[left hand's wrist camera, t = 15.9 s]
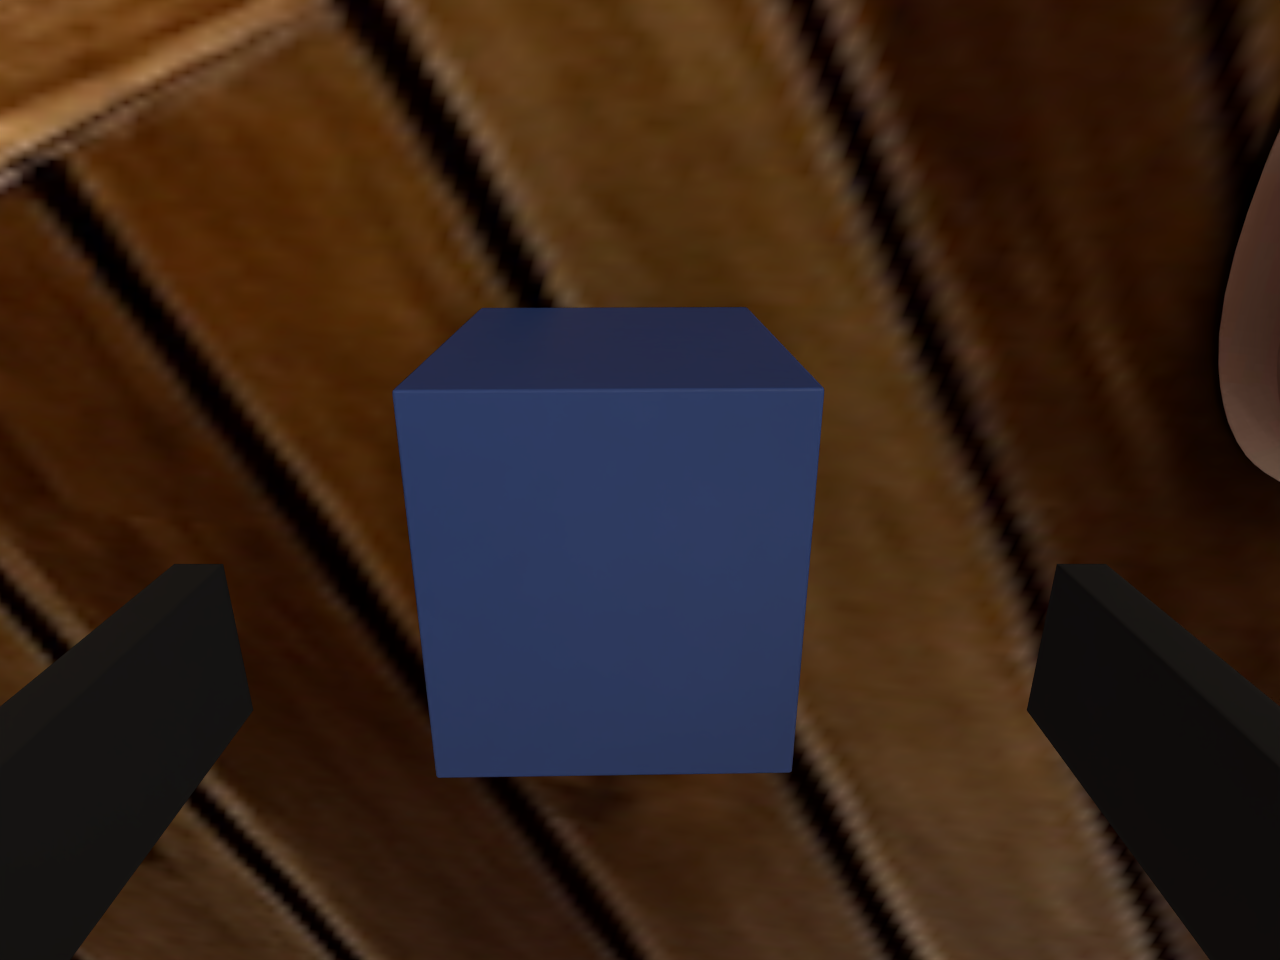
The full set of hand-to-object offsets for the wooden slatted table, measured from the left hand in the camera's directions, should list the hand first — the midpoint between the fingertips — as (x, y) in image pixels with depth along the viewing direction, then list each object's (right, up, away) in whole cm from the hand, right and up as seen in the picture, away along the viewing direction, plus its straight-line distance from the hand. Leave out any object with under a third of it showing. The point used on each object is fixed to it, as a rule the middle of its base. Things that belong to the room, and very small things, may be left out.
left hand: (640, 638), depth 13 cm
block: (-1, +3, +8) cm, 9 cm away
